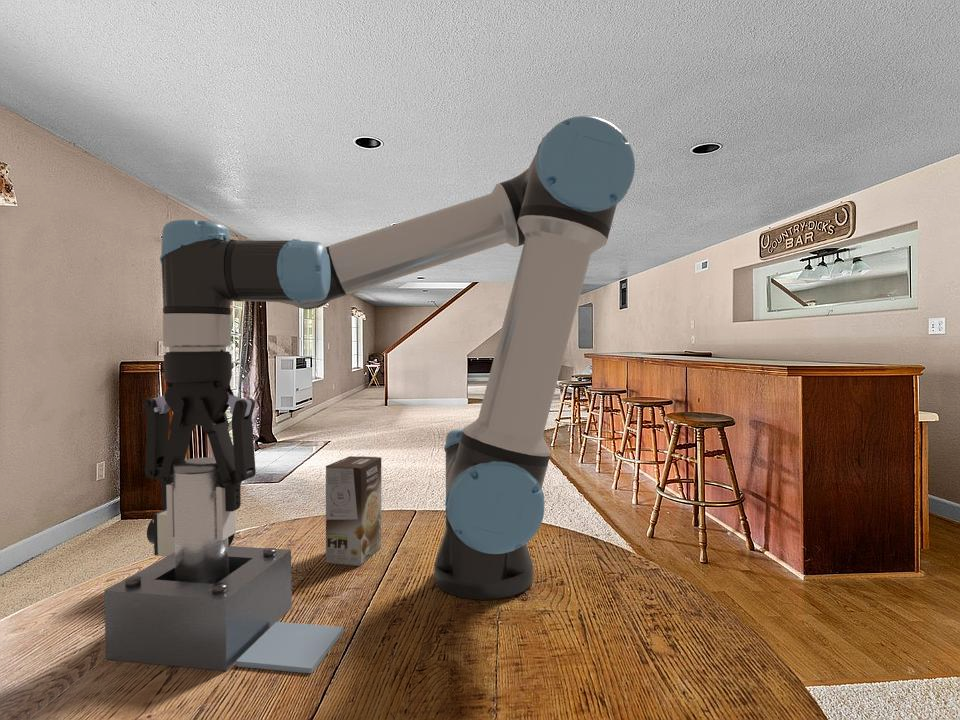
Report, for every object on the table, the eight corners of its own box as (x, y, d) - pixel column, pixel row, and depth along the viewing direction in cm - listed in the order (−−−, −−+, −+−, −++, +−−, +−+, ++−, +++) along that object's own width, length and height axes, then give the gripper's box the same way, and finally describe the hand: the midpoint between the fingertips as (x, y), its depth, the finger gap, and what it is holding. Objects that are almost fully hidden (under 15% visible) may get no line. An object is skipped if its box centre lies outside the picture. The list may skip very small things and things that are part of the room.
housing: (291, 607, 77) (291, 545, 77) (226, 671, 63) (225, 594, 62) (191, 599, 80) (190, 539, 79) (105, 659, 65) (104, 585, 65)
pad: (343, 631, 71) (343, 627, 71) (311, 673, 62) (311, 668, 62) (276, 626, 72) (276, 621, 72) (235, 666, 64) (235, 661, 64)
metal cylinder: (238, 588, 74) (236, 458, 73) (210, 609, 68) (207, 468, 67) (196, 585, 75) (194, 456, 74) (164, 606, 69) (161, 466, 68)
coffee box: (361, 567, 91) (360, 468, 91) (324, 563, 93) (324, 466, 92) (382, 546, 100) (382, 456, 100) (348, 544, 102) (348, 454, 101)
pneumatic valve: (216, 593, 82) (215, 511, 81) (146, 586, 84) (144, 506, 84) (240, 577, 87) (239, 500, 87) (173, 571, 90) (172, 495, 89)
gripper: (285, 349, 72) (287, 528, 73) (150, 349, 75) (154, 521, 76) (253, 350, 65) (256, 550, 66) (105, 350, 68) (110, 541, 69)
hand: (201, 534), depth 71 cm, fingers closed on metal cylinder, 6 cm apart
